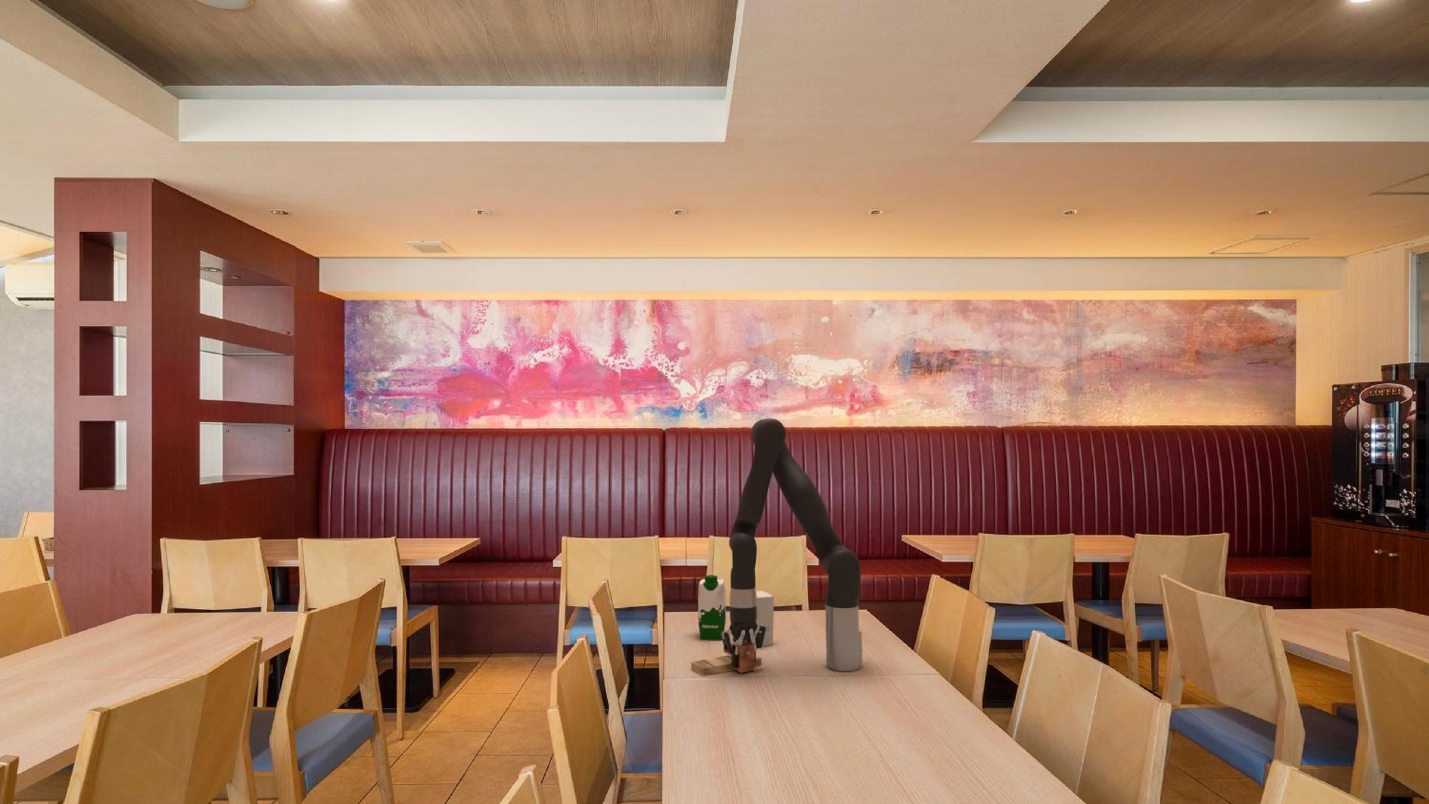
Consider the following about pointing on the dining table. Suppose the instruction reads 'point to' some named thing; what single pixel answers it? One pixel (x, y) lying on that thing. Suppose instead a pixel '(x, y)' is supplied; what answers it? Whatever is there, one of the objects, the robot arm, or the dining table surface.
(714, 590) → the milk carton
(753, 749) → the dining table surface
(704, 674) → the board
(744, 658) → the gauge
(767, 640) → the skincare box
